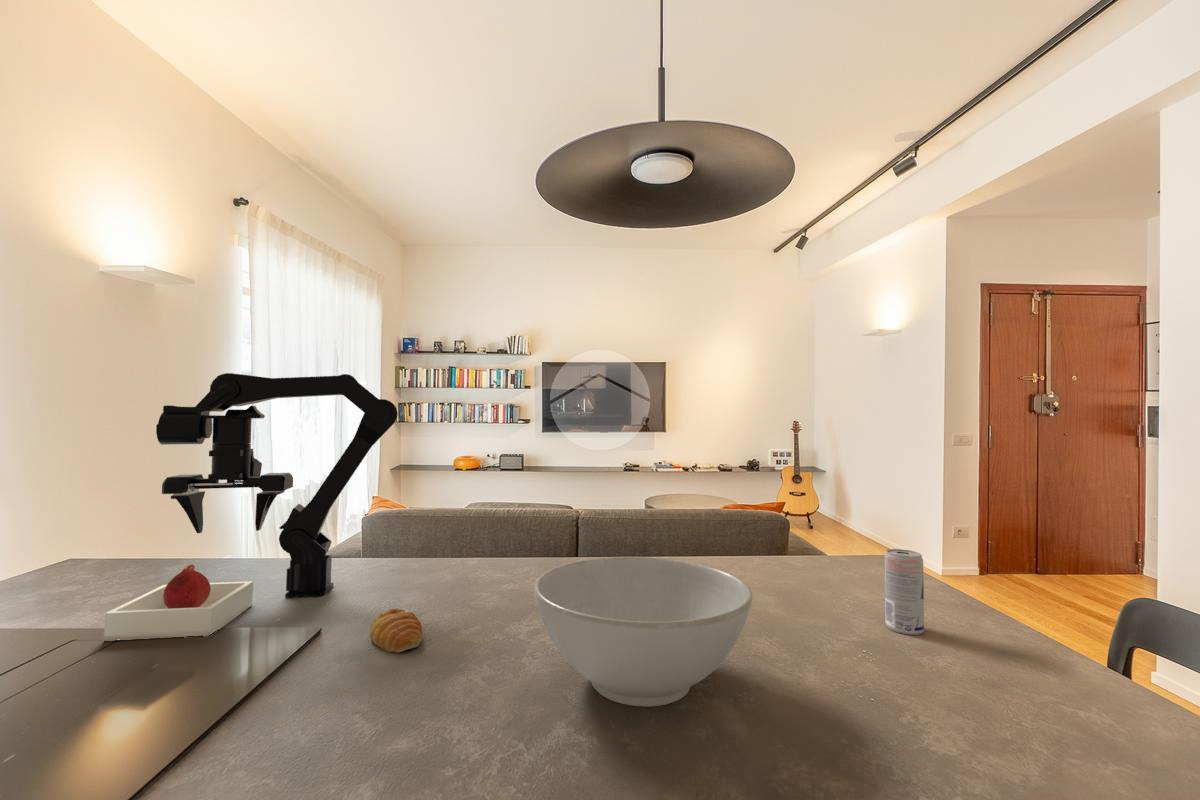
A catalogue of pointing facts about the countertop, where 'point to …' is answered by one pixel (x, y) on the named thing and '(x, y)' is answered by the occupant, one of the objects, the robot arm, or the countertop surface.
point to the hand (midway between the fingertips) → (229, 531)
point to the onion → (187, 589)
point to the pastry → (396, 630)
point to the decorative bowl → (642, 623)
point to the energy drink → (904, 591)
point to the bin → (178, 613)
